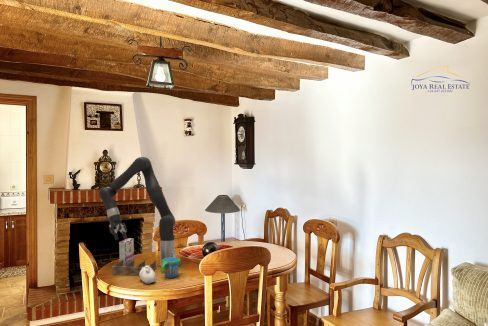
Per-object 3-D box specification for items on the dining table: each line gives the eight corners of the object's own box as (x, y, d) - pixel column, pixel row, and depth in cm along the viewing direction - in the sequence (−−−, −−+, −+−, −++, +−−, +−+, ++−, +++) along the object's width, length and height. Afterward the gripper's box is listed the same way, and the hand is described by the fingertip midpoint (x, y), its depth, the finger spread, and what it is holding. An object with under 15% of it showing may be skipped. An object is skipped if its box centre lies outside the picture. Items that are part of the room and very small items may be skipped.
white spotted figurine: (153, 268, 205) (145, 259, 218) (140, 277, 202) (133, 267, 215) (161, 280, 209) (152, 271, 221) (149, 290, 206) (141, 279, 218)
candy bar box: (127, 261, 252) (127, 238, 251) (134, 262, 251) (134, 238, 250) (118, 266, 241) (118, 241, 240) (125, 267, 240) (125, 242, 239)
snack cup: (174, 271, 230) (174, 255, 230) (186, 274, 224) (186, 258, 224) (155, 278, 218) (155, 260, 218) (167, 281, 212) (167, 264, 211)
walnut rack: (156, 268, 236) (156, 260, 236) (147, 276, 221) (147, 267, 221) (122, 267, 239) (122, 259, 239) (111, 274, 224) (111, 266, 224)
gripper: (111, 213, 234) (118, 237, 231) (125, 213, 248) (132, 236, 244) (102, 218, 236) (109, 242, 232) (116, 217, 250) (123, 240, 246)
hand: (121, 238), depth 238 cm, fingers open, 8 cm apart
